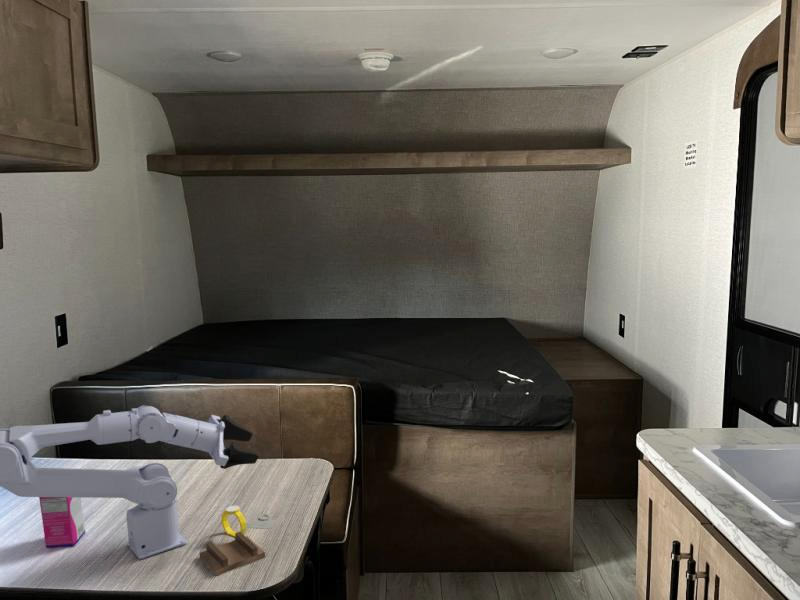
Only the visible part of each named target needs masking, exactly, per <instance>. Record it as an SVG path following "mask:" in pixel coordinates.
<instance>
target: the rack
mask: <svg viewBox="0 0 800 600" xmlns="http://www.w3.org/2000/svg"><path fill="white" fill-rule="evenodd" d="M236 532H237V533H235V537H234V538H235V540H232V541H229V542H225V543H222V544H221V545H218V546H216V544H215V543H214V542H212V541H209V542H206V543H205V544H206V550H204V551H201V552H199V559H200V560H201V561H202V562H203V563H204V564H205V566H207V568H208V569H209V570H210V571H211V572H212V573H213V574H214V576H218V575H221V574H224V573H227V572H229V571H231V570H234V569H237V568H240V567H242V566H244V565H247V564H249V563H252V562H255V561H258V560H260V559H263V558H265V557H266V552H265V551H264V550H263V549H262V548H261V547H260V546H259V545H258V544H257V543H255V542H254V541H253V540H252V539H251V538H250V537H249V536H248V535H245V534H242V533H241V532H240V531H236Z"/></svg>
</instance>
